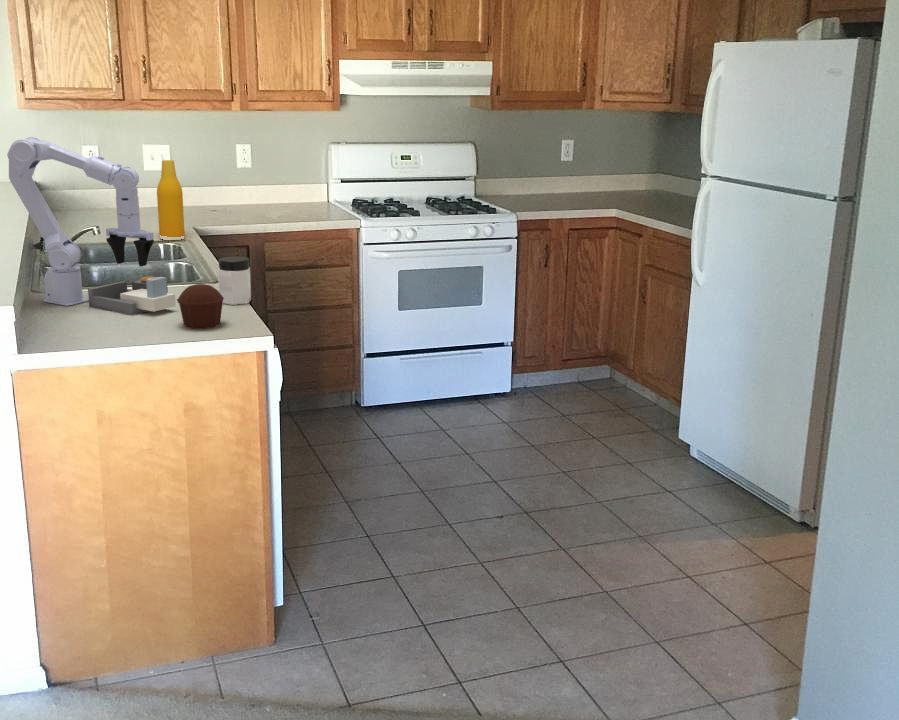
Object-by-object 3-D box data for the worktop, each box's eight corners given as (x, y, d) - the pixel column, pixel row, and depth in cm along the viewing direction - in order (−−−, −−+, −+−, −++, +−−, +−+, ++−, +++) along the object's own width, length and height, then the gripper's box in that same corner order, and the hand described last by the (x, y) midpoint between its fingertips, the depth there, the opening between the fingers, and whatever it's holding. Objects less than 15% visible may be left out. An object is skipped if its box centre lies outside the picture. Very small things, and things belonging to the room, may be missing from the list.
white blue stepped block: (120, 305, 256) (118, 276, 254) (142, 300, 262) (140, 272, 260) (154, 311, 250) (152, 282, 248) (175, 306, 257) (174, 277, 255)
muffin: (183, 318, 250) (181, 280, 247) (227, 318, 250) (226, 280, 248) (174, 330, 238) (172, 290, 235) (220, 330, 239) (218, 290, 236)
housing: (89, 307, 259) (87, 288, 258) (143, 294, 275) (142, 276, 274) (132, 315, 252) (131, 296, 250) (186, 301, 268) (185, 283, 266)
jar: (223, 297, 273) (221, 255, 270) (252, 298, 274) (251, 256, 270) (217, 305, 265) (215, 261, 261) (247, 305, 265) (246, 262, 262)
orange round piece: (138, 293, 268) (137, 278, 267) (150, 290, 272) (149, 275, 271) (150, 295, 266) (149, 280, 265) (161, 292, 270) (161, 277, 269)
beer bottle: (169, 236, 371) (165, 158, 362) (190, 238, 367) (186, 160, 359) (154, 239, 362) (149, 160, 354) (175, 241, 359) (170, 162, 351)
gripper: (96, 213, 258) (100, 264, 262) (139, 217, 253) (142, 269, 257) (115, 210, 265) (118, 259, 268) (157, 214, 259) (160, 265, 263)
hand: (131, 264), depth 263 cm, fingers open, 7 cm apart
